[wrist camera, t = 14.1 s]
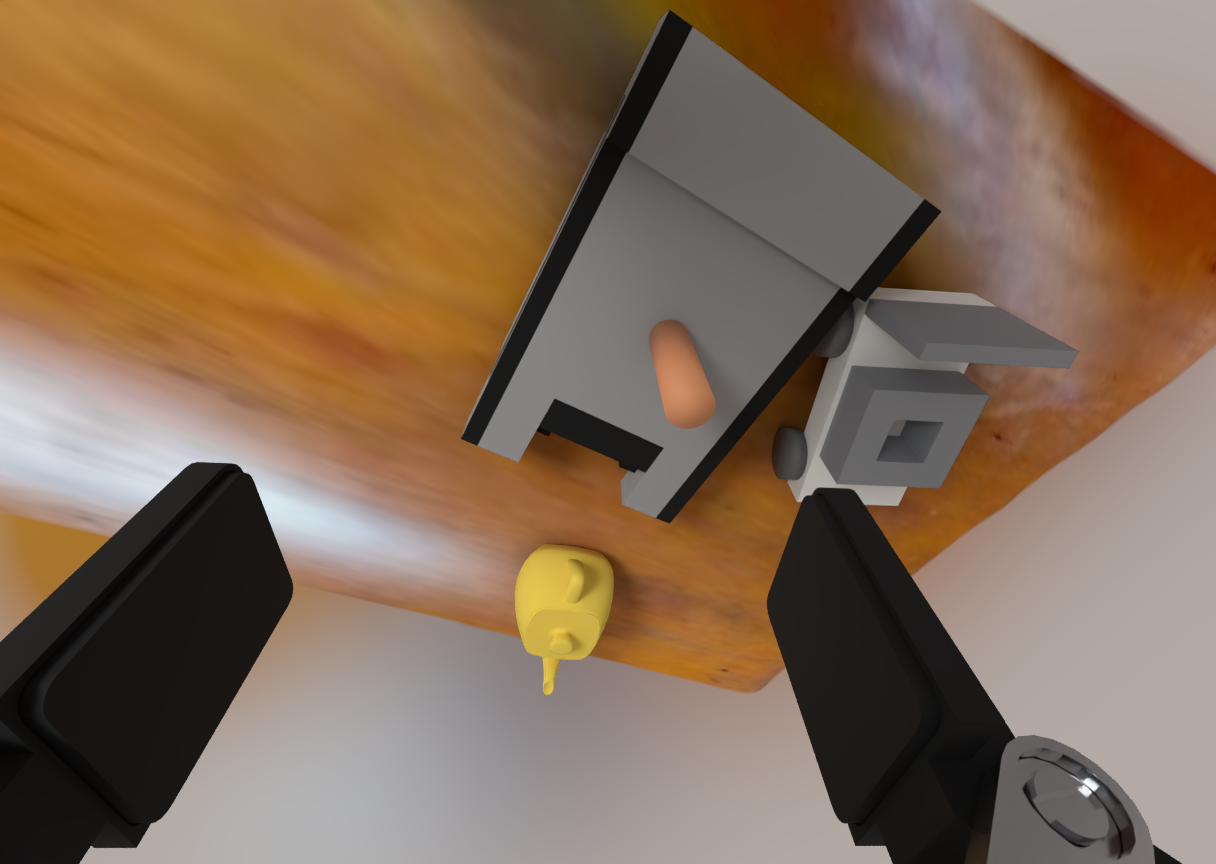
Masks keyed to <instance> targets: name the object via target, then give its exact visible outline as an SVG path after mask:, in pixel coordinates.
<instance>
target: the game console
mask: <svg viewBox="0 0 1216 864" xmlns="http://www.w3.org/2000/svg"><path fill="white" fill-rule="evenodd" d="M940 213H941V211H940V210H939V209H937V208H936V207H935V206H933V205H932V204H931V203H929V202H928V201H927V200H925V199H924V198H922V197H921V196H920V195H918V194H917V193H916V192H914V191H913V190H912V189H910V188H909V187H908V186H906V185H905V184H904V183H902V182H901V181H900V180H898V179H897V178H896V177H894V176H893V175H892V174H890V173H889V172H887V171H886V170H885V169H883V168H882V167H881V166H879V165H878V164H877V163H875V162H874V161H873V160H871V159H870V158H869V157H867V156H866V155H865V154H863V153H862V152H861V151H859V150H858V149H857V148H855V147H854V146H852V145H851V144H850V143H848V142H847V141H846V140H844V139H843V138H842V137H840V136H839V135H838V134H836V133H835V132H834V131H832V130H831V129H830V128H828V127H827V126H826V125H824V124H823V123H822V122H820V121H819V120H817V119H816V118H815V117H813V116H812V115H811V114H809V113H808V112H807V111H805V110H804V109H803V108H801V107H800V106H799V105H797V104H796V103H795V102H793V101H792V100H791V99H789V98H788V97H787V96H785V95H784V94H782V93H781V92H780V91H778V90H777V89H776V88H774V87H773V86H772V85H770V84H769V83H768V82H766V81H765V80H764V79H762V78H761V77H760V76H758V75H757V74H756V73H754V72H753V71H752V70H750V69H749V68H747V67H746V66H745V65H743V64H742V63H741V62H739V61H738V60H737V59H735V58H734V57H733V56H731V55H730V54H729V53H727V52H726V51H725V50H723V49H722V48H721V47H719V46H718V45H717V44H715V43H714V42H712V41H711V40H710V39H708V38H707V37H706V36H704V35H703V34H702V33H700V32H699V31H698V30H696V29H695V28H694V27H692V26H691V25H690V24H688V23H687V22H686V21H684V20H683V19H682V18H680V17H679V16H677V15H676V14H675V13H673V12H672V11H671V10H669V11H668V12H667V13H666V14H665V15H663V16H662V17H661V18H660V20H659V22H658V24H657V26H656V28H655V30H654V32H653V35H652V37H651V39H650V41H649V43H648V45H647V47H646V49H645V51H644V53H643V55H642V57H641V60H640V62H639V64H638V66H637V68H636V70H635V72H634V74H633V76H632V78H631V80H630V82H629V85H628V87H627V89H626V91H625V93H624V95H623V97H622V99H621V101H620V103H619V105H618V108H617V110H616V112H615V114H614V116H613V118H612V120H611V122H610V124H609V126H608V128H607V130H606V132H605V131H604V134H603V136H602V138H601V140H600V142H599V144H598V146H597V148H596V150H595V152H594V154H593V157H592V159H591V161H590V163H589V165H588V167H587V169H586V171H585V173H584V175H583V177H582V180H581V182H580V184H579V186H578V188H577V190H576V192H575V194H574V196H573V198H572V200H571V202H570V205H569V207H568V209H567V211H566V213H565V215H564V217H563V219H562V221H561V223H560V225H559V228H558V230H557V232H556V234H555V236H554V238H553V240H552V242H551V244H550V246H549V248H548V251H547V253H546V255H545V257H544V259H543V261H542V263H541V265H540V267H539V269H538V271H537V274H536V276H535V278H534V280H533V282H532V284H531V286H530V288H529V290H528V292H527V294H526V297H525V299H524V301H523V303H522V305H521V307H520V309H519V311H518V313H517V315H516V317H515V319H514V322H513V324H512V326H511V328H510V330H509V332H508V334H507V336H506V338H505V340H504V342H503V345H502V348H501V351H500V353H499V355H498V358H497V360H496V362H495V364H494V366H493V368H492V370H491V372H490V374H489V376H488V378H487V380H486V383H485V385H484V387H483V389H482V391H481V393H480V395H479V397H478V399H477V401H476V403H475V405H474V408H473V410H472V412H471V414H470V416H469V418H468V421H467V423H466V426H465V429H464V432H463V434H462V437H461V439H462V440H465V441H467V442H470V443H472V444H475V445H477V446H480V447H482V448H485V449H487V450H489V451H492V452H494V453H497V454H499V455H502V456H504V457H507V458H509V459H512V460H514V461H517V462H519V460H520V458H521V456H522V455H523V453H524V451H525V449H526V448H527V446H528V444H529V442H530V441H531V439H532V437H533V435H534V434H535V432H536V431H537V432H540V433H542V434H544V435H547V436H549V435H550V433H551V432H552V433H555V434H557V435H559V436H561V437H564V438H566V439H568V440H571V441H573V442H575V443H578V444H580V445H582V446H585V447H587V448H589V449H592V450H594V451H596V452H598V453H601V454H603V455H605V456H608V457H610V458H612V459H615V460H617V461H619V467H621V468H624V469H626V470H628V472H627V473H626V475H625V476H624V477H623V479H622V480H621V495H622V504H623V505H625V506H628V507H630V508H632V509H635V510H637V511H640V512H642V513H645V514H647V515H650V516H652V517H655V518H657V519H660V520H662V521H664V522H667V523H669V524H670V522H671V521H672V520H673V519H674V518H675V516H676V515H677V514H678V513H679V512H680V510H681V509H682V508H683V507H684V505H685V504H686V503H687V502H688V501H689V499H690V498H691V497H692V496H693V495H694V493H695V492H696V491H697V490H698V489H699V487H700V486H701V485H702V484H703V483H704V481H705V480H706V479H707V478H708V477H709V475H710V474H711V473H712V472H713V471H714V469H715V468H716V467H717V466H718V464H719V463H720V462H721V461H722V460H723V458H724V457H725V456H726V455H727V454H728V452H729V451H730V450H731V449H732V448H733V446H734V445H735V444H736V443H737V442H738V440H739V439H740V438H741V437H742V436H743V434H744V433H745V432H746V431H747V429H748V428H749V427H750V426H751V425H752V423H753V422H754V421H755V420H756V419H757V417H758V416H759V415H760V414H761V413H762V411H763V410H764V409H765V408H766V407H767V405H768V404H769V403H770V402H771V401H772V399H773V398H774V397H775V396H776V395H777V393H778V392H779V391H780V390H781V388H782V387H783V386H784V385H785V384H786V382H787V381H788V380H789V379H790V378H791V376H792V375H793V374H794V373H795V372H796V370H797V369H798V368H799V367H800V366H801V364H802V363H803V362H804V361H805V360H806V358H807V357H808V356H809V355H810V353H811V352H812V351H813V350H814V349H815V347H816V346H817V345H818V344H819V343H820V341H821V340H822V339H823V338H824V337H825V335H826V334H827V333H828V332H829V331H830V329H831V328H832V327H833V326H834V325H835V323H836V322H837V321H838V320H839V318H840V317H841V316H842V315H843V314H844V312H845V311H846V310H847V309H848V308H849V306H850V305H851V304H852V303H853V302H854V300H855V299H856V298H859V299H861V300H862V301H864V302H866V301H867V299H868V298H869V297H870V296H871V295H872V294H873V292H874V291H875V290H876V289H877V288H878V286H879V285H880V284H881V283H882V282H883V280H884V279H885V278H886V277H887V276H888V275H889V273H890V272H891V271H892V270H893V269H894V267H895V266H896V265H897V264H898V263H899V261H900V260H901V259H902V258H903V257H904V256H905V254H906V253H907V252H908V251H909V250H910V248H911V247H912V246H913V245H914V244H915V242H916V241H917V240H918V239H919V238H920V237H921V235H922V234H923V233H924V232H925V231H926V229H927V228H928V227H929V226H930V225H931V223H932V222H933V221H934V220H935V219H936V218H937V216H938V215H939V214H940ZM665 320H676V321H679V322H681V323H682V324H683V325H684V326H685V327H686V328H687V330H688V332H689V335H690V337H691V340H692V342H693V345H694V348H695V350H696V353H697V355H698V358H699V360H700V363H701V365H702V368H703V370H704V373H705V375H706V378H707V381H708V383H709V386H710V388H711V391H712V393H713V396H714V399H715V404H716V406H715V411H714V413H713V415H712V417H711V418H710V419H709V420H708V421H707V422H706V423H705V424H703V425H701V426H699V427H696V428H691V429H683V428H679V427H676V426H674V425H673V424H671V423H670V422H669V421H668V419H667V418H666V415H665V412H664V407H663V403H662V398H661V394H660V389H659V385H658V380H657V376H656V371H655V367H654V362H653V358H652V353H651V349H650V344H649V335H650V333H651V331H652V329H653V328H654V327H655V326H656V325H657V324H658V323H660V322H662V321H665Z"/></svg>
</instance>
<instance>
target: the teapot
mask: <svg viewBox="0 0 1216 864" xmlns="http://www.w3.org/2000/svg"><path fill="white" fill-rule="evenodd" d="M613 591H614V575H613V570H612V567H611V564H610V563H609V561H608V560H607V559H606V558H605V557H604V556H603V555H602V554H601V553H599V552H597V551H595V550H590V549H585V548H580V547H574V546H567V545H556V544H549V543H546V544H542V545H541V546H540V547H538V548H537V549H536V550H535V551H533V552H532V553H531V555H530V556H529V557H528V558H527V560H526V561H525V563H524V564H523V566H522V568H521V570H520V572H519V575H518V577H517V581H516V588H515V610H516V617H517V623H518V627H519V631H520V634H521V638H522V641H523V644H524V647H525V649H526V650H527V651H528V652H529V653H530V654H533V655H536V656H542V658H543V665H544V682H543V692H544V694H545V695H550V694H551V693H552V691H553V689H554V685H555V679H556V675H557V671H558V667H559V664H560V660H561V659H566V660H580V659H583V658H585V657H586V656H588V655H589V654H590V653H591V652H592V650H593V649H594V647H595V645H596V644H597V642H598V640H599V638H600V636H601V634H602V631H603V629H604V627H605V624H606V622H607V619H608V616H609V613H610V609H611V605H612V599H613Z"/></svg>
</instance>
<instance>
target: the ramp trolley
mask: <svg viewBox="0 0 1216 864" xmlns="http://www.w3.org/2000/svg"><path fill="white" fill-rule="evenodd" d="M812 353H813V354H814V355H815V356H817V357H829V359H828V362H827V365H826V368H825V371H824V374H823V377H822V380H821V383H820V386H819V389H818V392H817V395H816V398H815V401H814V404H813V407H812V410H811V413H810V416H809V419H808V422H807V425H806V428H805V431H804V433H803V432H802V430H801V429H799V428H784V427H783V428H780V429H779V430H778V431H777V433H776V435H775V438H774V441H773V447H772V463H773V469H774V472H775V474H776V476H777V477H778V478H779V479H786V480H788V484H789V486H790V488H791V490H792V492H793V494H794V497H795V499H796V501H797V502H802V500H803V498H804V497H805V496H807V495H812V494H813V492H814V490H815V489H816V488H820V487H824V488H849V489H852V490H854V491H855V492H856V493H857V494H858V496H859V497H860V499H861V500H862V502H863V503H864V505H887V506H898V505H899V503H900V501H901V499H902V497H903V495H904V493H905V491H906V489H907V487H920V488H940V487H941V485H942V483H943V482H944V480H945V478H946V476H947V474H948V472H949V470H950V469H951V467H952V465H953V463H954V461H955V459H956V458H957V456H958V454H959V452H960V450H961V448H962V447H963V445H964V443H965V441H966V439H967V437H968V436H969V434H970V432H971V430H972V428H973V426H974V424H975V423H976V421H977V419H978V417H979V415H980V413H981V412H982V410H983V408H984V406H985V404H986V402H987V401H988V399H989V397H990V395H989V394H987V393H986V392H985V391H984V390H982V389H981V388H980V387H978V386H977V385H976V384H975V383H973V382H972V381H971V380H969V379H968V378H967V377H966V376H964V375H963V374H964V372H965V370H966V368H967V366H968V365H971V364H974V363H979V364H997V365H1015V366H1032V367H1050V368H1068V369H1069V367H1070V366H1071V364H1072V362H1073V361H1074V359H1075V358H1076V356H1077V354H1078V353H1079V351H1078V350H1076V349H1074V348H1072V347H1070V346H1068V345H1067V344H1065V343H1063V342H1061V341H1059V340H1057V339H1056V338H1054V337H1052V336H1050V335H1048V334H1046V333H1045V332H1043V331H1041V330H1039V329H1037V328H1035V327H1034V326H1032V325H1030V324H1028V323H1026V322H1024V321H1023V320H1021V319H1019V318H1017V317H1015V316H1013V315H1012V314H1010V313H1008V312H1006V311H1004V310H1002V309H1001V308H999V307H997V306H995V305H993V304H991V303H990V302H988V301H986V300H984V299H982V298H980V297H979V296H977V295H975V294H972V293H957V292H941V291H926V290H910V289H895V288H880V287H878V288H877V289H876V290H875V291H874V292H873V294H872V295H871V296H870V297H869V298H868V299H867V301H866V302H864V301H862V300H861V299H859V298H856V299H855V300H854V302H853V303H852V304H851V305H850V306H849V308H848V309H847V310H846V311H845V312H844V314H843V315H842V316H841V317H840V318H839V320H838V321H837V322H836V323H835V325H834V326H833V327H832V328H831V329H830V331H829V332H828V333H827V334H826V335H825V337H824V338H823V339H822V340H821V341H820V343H819V344H818V345H817V346H816V347H815V349H814V350H813V351H812Z"/></svg>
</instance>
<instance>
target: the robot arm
mask: <svg viewBox="0 0 1216 864" xmlns="http://www.w3.org/2000/svg"><path fill="white" fill-rule="evenodd" d="M292 594H293V583H292V579H291V577H290V574H289V572H288V569H287V566H286V564H285V561H284V559H283V556H282V553H281V551H280V548H279V546H278V543H277V540H276V538H275V535H274V533H273V530H272V527H271V525H270V522H269V520H268V517H267V514H266V512H265V509H264V507H263V504H262V501H261V499H260V496H259V494H258V491H257V488H256V486H255V483H254V481H253V479H252V477H251V476H250V475H249V474H247V473H244V472H243V471H242V469H241V468H240V467H239V466H238V465H236V464H230V463H206V462H196V463H192V464H190V465H189V466H187V467H186V468H185V469H184V470H183V471H182V472H181V473H179V474H178V475H177V476H176V477H175V478H174V479H173V480H172V481H171V482H170V483H169V484H168V485H167V486H166V487H165V488H164V489H162V490H161V491H160V492H159V493H158V494H157V495H156V496H155V497H154V498H153V499H152V500H151V501H150V502H149V503H148V504H146V505H145V506H144V507H143V508H142V509H141V510H140V511H139V512H138V513H137V514H136V515H135V516H134V517H133V518H132V519H131V520H129V521H128V522H127V523H126V524H125V525H124V526H123V527H122V528H121V529H120V530H119V531H118V532H117V533H116V534H115V535H114V536H112V537H111V538H110V539H109V540H108V541H107V542H106V543H105V544H104V545H103V546H102V547H101V548H100V549H99V550H98V551H97V552H96V553H94V554H93V555H92V556H91V557H90V558H89V559H88V560H87V561H86V562H85V563H84V564H83V565H82V566H81V567H80V568H78V569H77V570H76V571H75V572H74V573H73V574H72V575H71V576H70V577H69V578H68V579H67V580H66V581H65V582H64V583H63V584H62V585H60V586H59V587H58V589H56V590H55V591H54V592H53V593H52V594H51V595H50V596H49V597H48V598H47V599H46V600H44V601H43V602H42V603H41V604H40V605H39V606H38V607H37V608H36V609H35V610H34V611H33V612H32V613H31V614H30V615H29V616H28V617H26V618H25V619H24V620H23V621H22V622H21V623H20V624H19V625H18V626H17V627H16V628H15V629H14V630H13V631H12V632H11V633H10V634H8V635H7V636H6V637H5V638H4V639H3V640H2V641H1V642H0V864H79V863H80V861H81V860H82V858H83V857H84V855H85V854H86V852H87V851H88V849H89V848H90V846H93V847H94V848H136V847H137V846H138V844H139V843H140V841H141V839H142V837H143V836H144V834H145V833H146V831H147V829H148V828H149V826H150V824H151V823H154V822H156V821H158V820H159V819H161V818H162V817H163V816H164V814H166V812H167V811H168V810H169V808H170V807H171V805H172V803H173V802H174V800H175V799H176V796H177V795H178V793H179V792H180V790H181V788H182V787H183V785H184V783H185V781H186V780H187V778H188V776H189V775H190V773H191V771H192V769H193V768H194V766H195V764H196V762H197V761H198V759H199V757H200V756H201V754H202V752H203V750H204V749H205V747H206V745H207V744H208V742H209V740H210V739H211V737H212V735H213V733H214V732H215V730H216V728H217V727H218V725H219V723H220V721H221V720H222V718H223V716H224V715H225V713H226V711H227V709H228V708H229V706H230V704H231V703H232V701H233V699H234V697H235V696H236V694H237V692H238V691H239V689H240V687H241V686H242V683H243V682H244V680H245V679H246V677H247V675H248V674H249V672H250V670H251V668H252V667H253V665H254V663H255V661H256V660H257V658H258V656H259V655H260V653H261V651H262V649H263V648H264V646H265V644H266V643H267V641H268V639H269V637H270V635H271V634H272V632H273V631H274V629H275V627H276V625H277V624H278V622H279V620H280V618H281V617H282V615H283V614H284V612H285V610H286V608H287V607H288V605H289V603H290V601H291V598H292ZM767 610H768V615H769V618H770V621H771V624H772V627H773V630H774V633H775V636H776V639H777V642H778V645H779V648H780V651H781V654H782V657H783V660H784V663H785V666H786V669H787V672H788V675H789V678H790V681H791V684H792V687H793V690H794V693H795V696H796V699H797V702H798V705H799V708H800V711H801V714H802V717H803V720H804V723H805V726H806V729H807V732H808V735H809V738H810V741H811V744H812V747H813V750H814V753H815V756H816V759H817V762H818V765H819V768H820V771H821V774H822V777H823V780H824V783H825V786H826V789H827V792H828V795H829V798H830V801H831V804H832V807H833V810H834V812H835V814H836V816H837V818H838V819H839V820H840V821H841V822H842V823H848V825H849V829H850V831H851V834H852V837H853V840H854V843H855V846H886V847H887V850H888V853H889V855H890V857H891V860H892V863H893V864H1182V863H1180V862H1179V861H1177V860H1176V859H1174V858H1173V857H1171V856H1170V855H1168V854H1167V853H1165V852H1164V851H1162V850H1161V849H1159V848H1158V847H1156V846H1155V845H1153V844H1152V840H1151V837H1150V833H1149V829H1148V826H1147V825H1146V823H1145V821H1144V819H1143V818H1142V816H1141V814H1140V812H1139V810H1138V809H1137V807H1136V805H1135V804H1134V802H1133V801H1132V800H1131V799H1130V798H1129V796H1128V795H1127V794H1126V793H1125V792H1124V790H1123V789H1122V788H1121V787H1120V786H1119V784H1118V783H1117V782H1116V781H1115V780H1114V779H1112V778H1111V777H1110V776H1109V775H1108V774H1107V773H1106V772H1105V771H1104V770H1102V769H1101V768H1100V767H1099V766H1098V765H1097V764H1095V763H1094V762H1093V761H1091V760H1090V759H1088V758H1087V757H1085V756H1084V755H1082V754H1080V753H1079V752H1078V751H1076V750H1075V749H1073V748H1070V747H1068V746H1066V745H1064V744H1062V743H1060V742H1057V741H1055V740H1053V739H1048V738H1044V737H1040V736H1035V735H1030V736H1018V737H1017V738H1015V737H1014V735H1013V734H1012V732H1011V730H1010V729H1009V727H1008V726H1007V724H1006V723H1005V720H1004V719H1003V717H1002V716H1001V714H1000V713H999V711H998V710H997V708H996V707H995V705H994V703H993V702H992V700H991V699H990V698H989V696H988V694H987V693H986V691H985V690H984V688H983V687H982V685H981V684H980V682H979V680H978V679H977V677H976V676H975V674H974V673H973V671H972V670H971V668H970V667H969V665H968V663H967V662H966V661H965V659H964V657H963V656H962V654H961V653H960V651H959V650H958V648H957V647H956V645H955V643H954V642H953V640H952V639H951V637H950V636H949V634H948V633H947V631H946V630H945V628H944V627H943V625H942V623H941V622H940V620H939V619H938V617H937V616H936V614H935V613H934V611H933V610H932V608H931V607H930V605H929V603H928V602H927V600H926V599H925V597H924V596H923V594H922V593H921V591H920V590H919V588H918V587H917V585H916V583H915V582H914V580H913V579H912V577H911V576H910V574H909V573H908V571H907V570H906V568H905V567H904V565H903V563H902V562H901V560H900V559H899V557H898V556H897V554H896V553H895V551H894V550H893V548H892V547H891V545H890V543H889V542H888V540H887V539H886V537H885V536H884V534H883V533H882V531H881V530H880V528H879V527H878V525H877V523H876V522H875V520H874V519H873V517H872V516H871V514H870V513H869V511H868V510H867V508H866V507H865V505H864V503H863V502H862V500H861V499H860V497H859V496H858V494H857V493H856V492H855V491H854V490H852V489H849V488H824V487H820V488H816V489H815V490H814V492H813V494H812V495H807V496H805V497H804V498H803V500H802V503H801V505H800V508H799V511H798V514H797V516H796V519H795V522H794V525H793V527H792V530H791V533H790V536H789V538H788V541H787V544H786V547H785V549H784V552H783V555H782V558H781V561H780V563H779V566H778V569H777V572H776V574H775V577H774V580H773V583H772V585H771V588H770V591H769V594H768V598H767Z"/></svg>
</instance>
